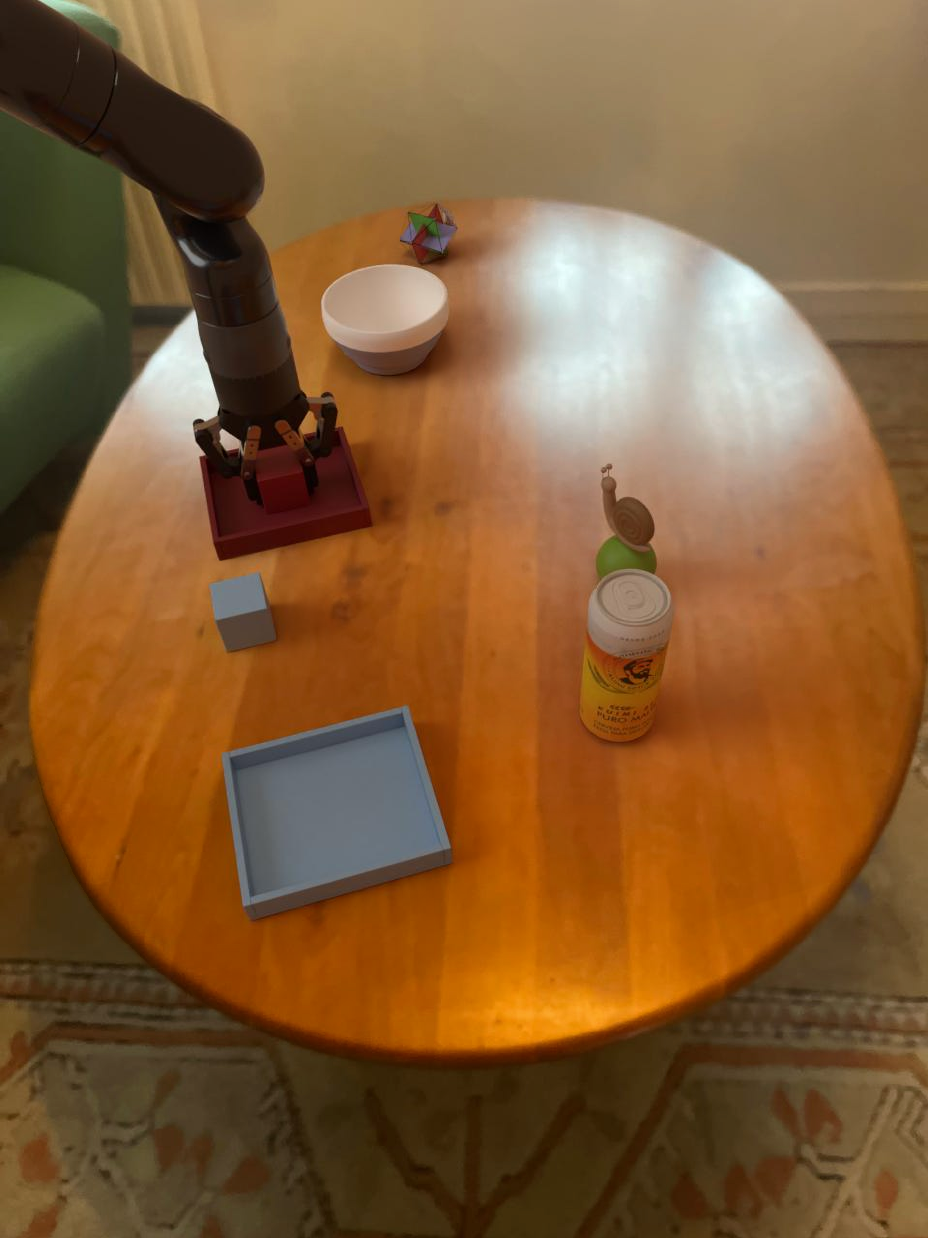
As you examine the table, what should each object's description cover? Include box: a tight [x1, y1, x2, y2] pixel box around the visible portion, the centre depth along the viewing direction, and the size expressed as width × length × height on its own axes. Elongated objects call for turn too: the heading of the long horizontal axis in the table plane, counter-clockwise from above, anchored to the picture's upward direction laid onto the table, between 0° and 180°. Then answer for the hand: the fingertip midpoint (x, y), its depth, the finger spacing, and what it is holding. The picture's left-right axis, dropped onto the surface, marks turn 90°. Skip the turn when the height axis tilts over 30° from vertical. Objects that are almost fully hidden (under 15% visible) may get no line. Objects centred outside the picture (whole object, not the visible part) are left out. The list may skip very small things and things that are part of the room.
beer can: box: [578, 569, 676, 743], centre depth 73 cm, size 6×6×15 cm
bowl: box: [320, 263, 450, 376], centre depth 110 cm, size 14×14×8 cm
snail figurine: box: [595, 463, 658, 581], centre depth 84 cm, size 5×6×12 cm
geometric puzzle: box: [398, 202, 459, 266], centre depth 124 cm, size 7×7×8 cm
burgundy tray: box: [198, 425, 373, 561], centre depth 96 cm, size 15×13×2 cm
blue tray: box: [221, 704, 454, 921], centre depth 73 cm, size 15×13×2 cm
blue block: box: [209, 571, 277, 653], centre depth 85 cm, size 4×4×4 cm
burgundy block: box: [254, 445, 310, 515], centre depth 95 cm, size 4×4×4 cm
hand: (284, 493), depth 97 cm, fingers closed on burgundy block, 4 cm apart
